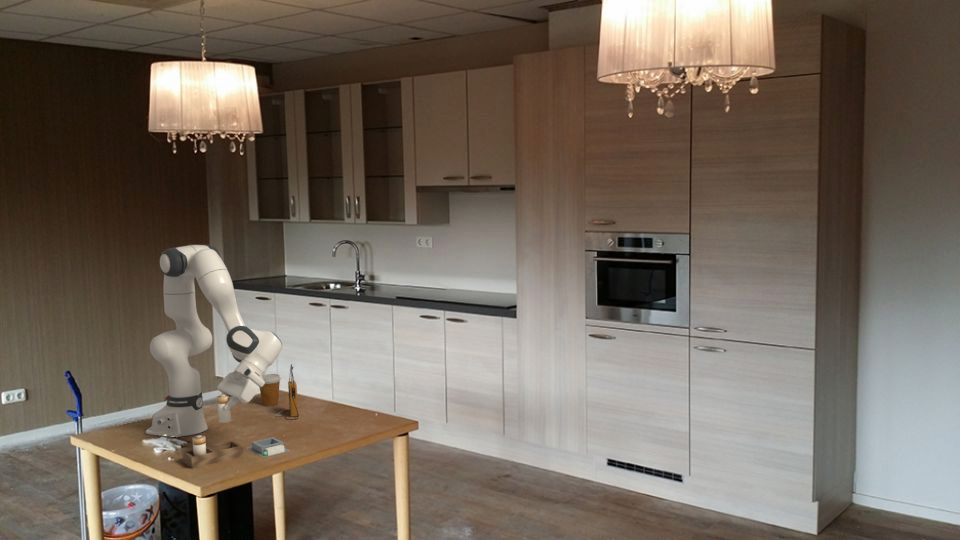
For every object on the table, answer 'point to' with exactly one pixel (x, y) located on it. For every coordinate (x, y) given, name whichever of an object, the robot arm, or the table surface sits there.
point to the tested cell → (222, 413)
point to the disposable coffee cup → (270, 389)
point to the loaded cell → (199, 445)
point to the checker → (268, 447)
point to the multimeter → (292, 397)
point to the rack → (214, 454)
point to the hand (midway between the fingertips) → (221, 407)
